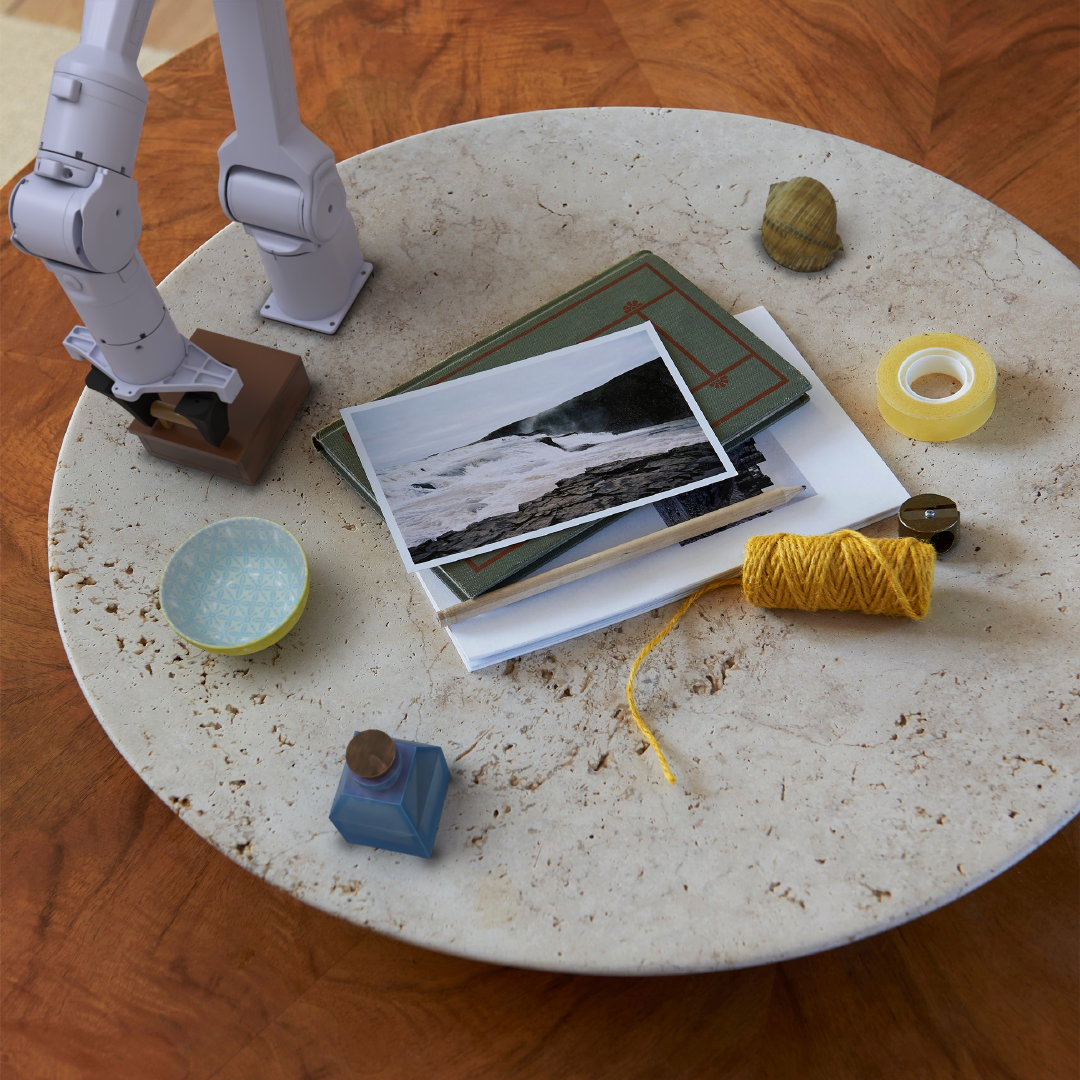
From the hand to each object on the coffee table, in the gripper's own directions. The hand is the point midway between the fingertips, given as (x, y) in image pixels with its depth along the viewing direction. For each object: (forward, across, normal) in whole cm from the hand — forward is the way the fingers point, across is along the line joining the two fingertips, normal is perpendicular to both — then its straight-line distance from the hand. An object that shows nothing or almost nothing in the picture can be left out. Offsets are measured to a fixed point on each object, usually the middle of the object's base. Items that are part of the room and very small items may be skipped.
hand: (187, 427), depth 88 cm
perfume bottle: (+5, +29, -23) cm, 37 cm away
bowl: (+5, +12, -12) cm, 18 cm away
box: (+5, 0, +5) cm, 7 cm away
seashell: (+5, +44, +43) cm, 61 cm away
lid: (+1, 0, +5) cm, 5 cm away
